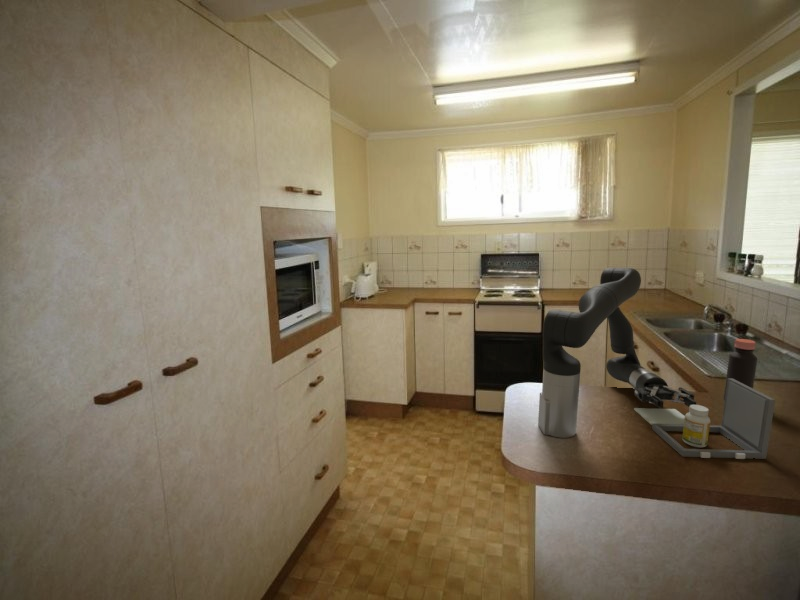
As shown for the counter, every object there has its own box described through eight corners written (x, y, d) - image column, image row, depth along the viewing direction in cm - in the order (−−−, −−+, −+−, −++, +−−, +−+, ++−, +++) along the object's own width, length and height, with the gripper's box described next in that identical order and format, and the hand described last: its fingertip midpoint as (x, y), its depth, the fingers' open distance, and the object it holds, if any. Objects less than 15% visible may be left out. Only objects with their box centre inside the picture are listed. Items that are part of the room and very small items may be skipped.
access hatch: (683, 457, 101) (691, 399, 99) (652, 429, 116) (657, 377, 113) (767, 460, 100) (777, 400, 97) (725, 430, 114) (732, 378, 112)
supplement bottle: (692, 448, 105) (697, 412, 104) (676, 438, 111) (681, 403, 109) (712, 447, 106) (717, 411, 104) (695, 437, 111) (700, 402, 110)
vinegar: (740, 398, 136) (749, 338, 132) (756, 406, 129) (765, 344, 126) (718, 397, 137) (726, 337, 133) (732, 406, 130) (741, 343, 126)
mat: (651, 424, 118) (651, 423, 118) (633, 409, 128) (634, 408, 128) (695, 425, 117) (695, 424, 117) (674, 410, 127) (675, 408, 127)
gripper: (625, 371, 131) (652, 391, 115) (672, 372, 130) (706, 393, 114) (623, 394, 132) (650, 417, 116) (670, 395, 131) (703, 418, 115)
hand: (678, 405), depth 115 cm, fingers open, 8 cm apart
